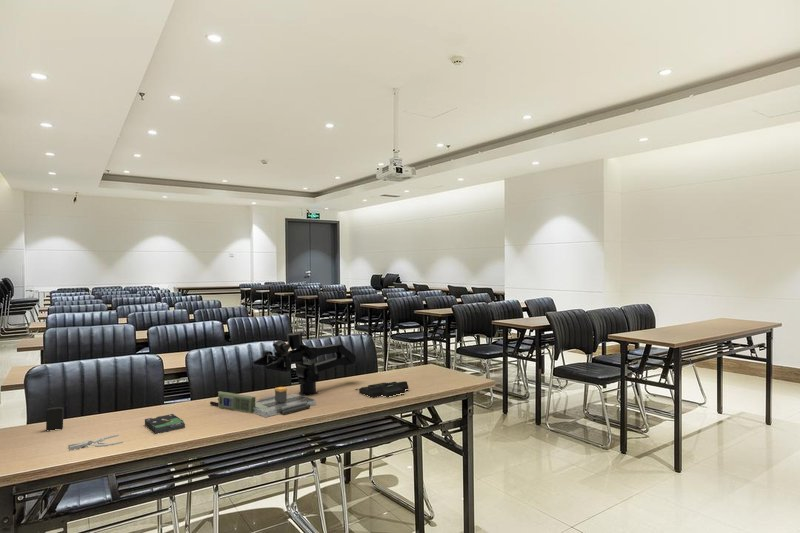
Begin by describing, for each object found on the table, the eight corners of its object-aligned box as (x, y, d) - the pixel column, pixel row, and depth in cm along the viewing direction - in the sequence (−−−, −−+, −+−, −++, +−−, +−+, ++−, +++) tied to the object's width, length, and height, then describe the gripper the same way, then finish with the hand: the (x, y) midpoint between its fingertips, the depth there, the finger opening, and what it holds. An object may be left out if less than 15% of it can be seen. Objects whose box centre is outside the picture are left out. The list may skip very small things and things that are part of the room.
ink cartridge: (63, 427, 182) (63, 406, 182) (62, 429, 180) (62, 407, 180) (47, 429, 179) (47, 408, 180) (46, 431, 177) (46, 409, 178)
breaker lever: (281, 399, 208) (281, 386, 208) (286, 401, 205) (286, 388, 205) (274, 401, 205) (274, 388, 205) (280, 402, 202) (280, 389, 202)
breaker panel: (294, 398, 219) (294, 393, 219) (315, 404, 208) (315, 399, 208) (245, 409, 202) (245, 404, 202) (265, 417, 191) (265, 411, 191)
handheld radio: (250, 414, 197) (207, 406, 208) (256, 412, 199) (213, 405, 211) (250, 397, 197) (207, 391, 208) (256, 396, 200) (214, 389, 211)
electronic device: (379, 382, 250) (379, 372, 250) (414, 394, 226) (414, 383, 226) (343, 388, 238) (343, 378, 238) (377, 401, 214) (376, 390, 214)
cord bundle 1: (304, 406, 205) (304, 400, 205) (310, 408, 202) (310, 401, 202) (277, 413, 196) (277, 406, 196) (283, 415, 193) (283, 408, 193)
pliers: (123, 439, 165) (70, 449, 155) (123, 443, 165) (70, 454, 155) (118, 431, 172) (67, 441, 163) (118, 436, 172) (67, 446, 163)
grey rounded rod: (281, 399, 218) (281, 392, 218) (286, 400, 215) (286, 394, 215) (255, 405, 208) (255, 398, 208) (260, 406, 206) (259, 400, 206)
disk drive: (144, 426, 184) (155, 435, 173) (143, 419, 184) (155, 427, 173) (173, 420, 191) (185, 428, 180) (172, 413, 191) (185, 421, 180)
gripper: (277, 336, 225) (247, 343, 214) (301, 343, 213) (270, 350, 201) (278, 360, 227) (248, 367, 215) (302, 368, 214) (271, 376, 203)
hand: (259, 365), depth 209 cm, fingers open, 9 cm apart
